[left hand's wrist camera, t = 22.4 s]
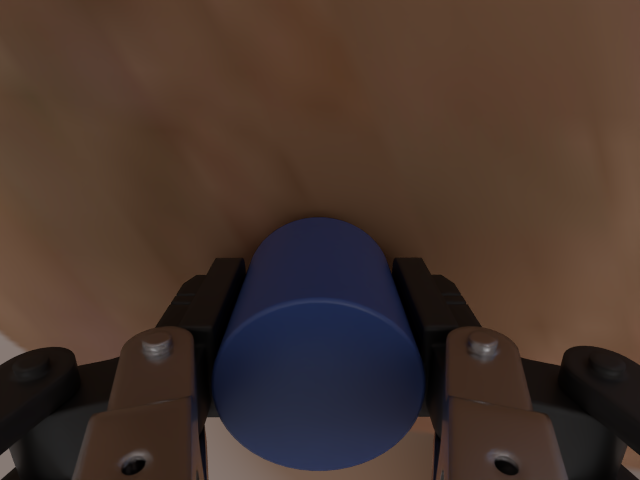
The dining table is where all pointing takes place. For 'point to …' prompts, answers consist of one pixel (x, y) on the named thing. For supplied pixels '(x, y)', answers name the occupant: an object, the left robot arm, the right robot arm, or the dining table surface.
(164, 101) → the dining table surface
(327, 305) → the can
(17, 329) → the dining table surface
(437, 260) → the dining table surface
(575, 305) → the dining table surface
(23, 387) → the left robot arm
